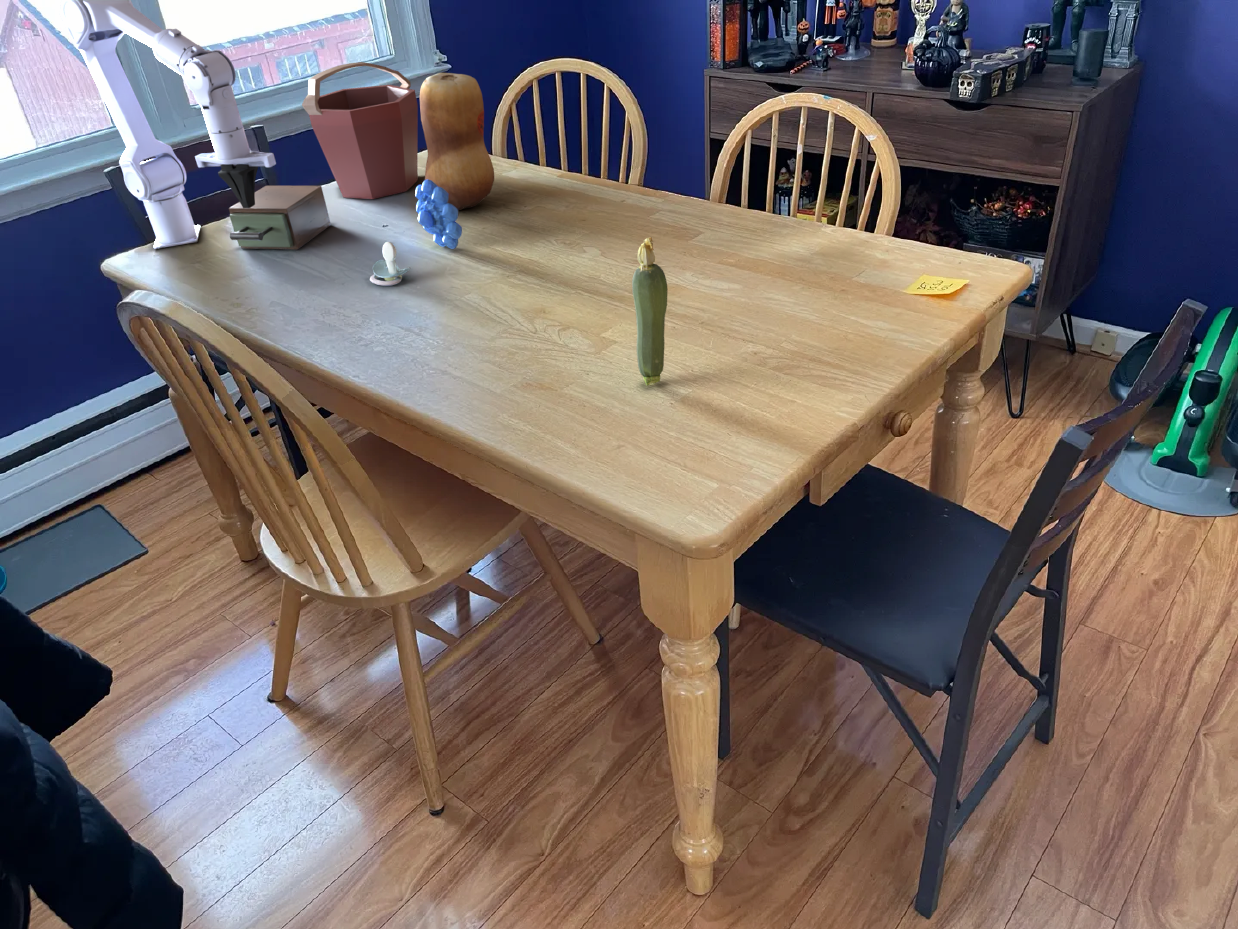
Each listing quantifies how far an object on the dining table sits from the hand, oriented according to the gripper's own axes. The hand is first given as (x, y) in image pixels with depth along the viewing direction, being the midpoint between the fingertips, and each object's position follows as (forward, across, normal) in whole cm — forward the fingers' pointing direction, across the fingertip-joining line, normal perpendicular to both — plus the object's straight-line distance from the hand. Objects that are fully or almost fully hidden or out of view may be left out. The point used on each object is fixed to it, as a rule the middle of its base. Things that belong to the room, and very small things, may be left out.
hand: (249, 206), depth 167 cm
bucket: (+9, -4, -39) cm, 40 cm away
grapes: (+9, -34, -4) cm, 35 cm away
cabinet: (+9, 0, -9) cm, 12 cm away
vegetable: (+9, -83, +41) cm, 93 cm away
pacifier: (+9, -31, +11) cm, 34 cm away
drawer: (+8, 0, -4) cm, 9 cm away
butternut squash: (+9, -30, -26) cm, 41 cm away
